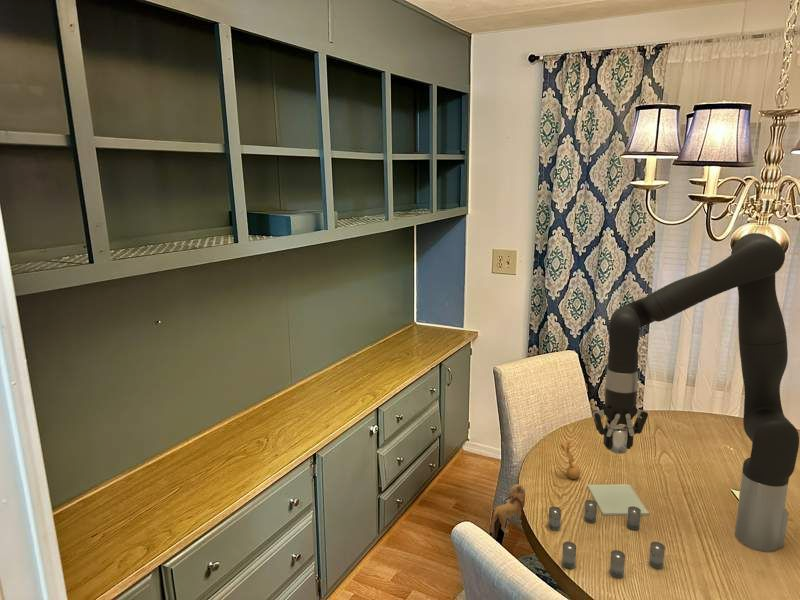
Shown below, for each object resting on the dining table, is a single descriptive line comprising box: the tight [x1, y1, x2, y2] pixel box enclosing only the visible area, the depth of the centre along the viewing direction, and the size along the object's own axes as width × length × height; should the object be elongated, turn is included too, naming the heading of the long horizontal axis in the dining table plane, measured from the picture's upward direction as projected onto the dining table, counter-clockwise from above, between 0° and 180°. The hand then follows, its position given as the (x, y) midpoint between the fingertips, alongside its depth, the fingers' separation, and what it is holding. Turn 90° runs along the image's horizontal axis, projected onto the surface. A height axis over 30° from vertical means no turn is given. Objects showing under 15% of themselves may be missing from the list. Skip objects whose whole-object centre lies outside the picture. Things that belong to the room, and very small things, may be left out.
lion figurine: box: [488, 483, 526, 538], centre depth 142 cm, size 15×5×9 cm, turn 141°
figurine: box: [560, 439, 582, 480], centre depth 163 cm, size 8×6×12 cm
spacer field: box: [548, 499, 666, 580], centre depth 133 cm, size 23×23×5 cm
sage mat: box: [587, 483, 650, 516], centre depth 152 cm, size 12×14×1 cm
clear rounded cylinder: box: [609, 424, 628, 455], centre depth 142 cm, size 4×4×6 cm
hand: (617, 447), depth 142 cm, fingers closed on clear rounded cylinder, 4 cm apart
